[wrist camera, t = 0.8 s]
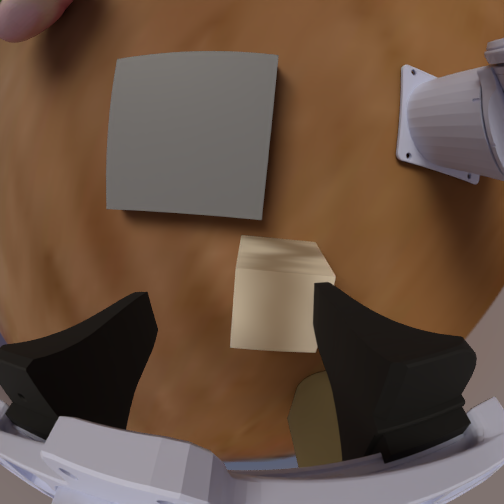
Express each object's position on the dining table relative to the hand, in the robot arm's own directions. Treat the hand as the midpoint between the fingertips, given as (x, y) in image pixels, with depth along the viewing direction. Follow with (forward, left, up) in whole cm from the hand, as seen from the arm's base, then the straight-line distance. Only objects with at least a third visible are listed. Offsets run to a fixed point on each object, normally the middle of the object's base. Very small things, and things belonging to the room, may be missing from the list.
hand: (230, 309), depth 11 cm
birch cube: (-3, +3, -10) cm, 10 cm away
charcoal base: (+4, -7, -10) cm, 13 cm away
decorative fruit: (+19, -22, -10) cm, 30 cm away
